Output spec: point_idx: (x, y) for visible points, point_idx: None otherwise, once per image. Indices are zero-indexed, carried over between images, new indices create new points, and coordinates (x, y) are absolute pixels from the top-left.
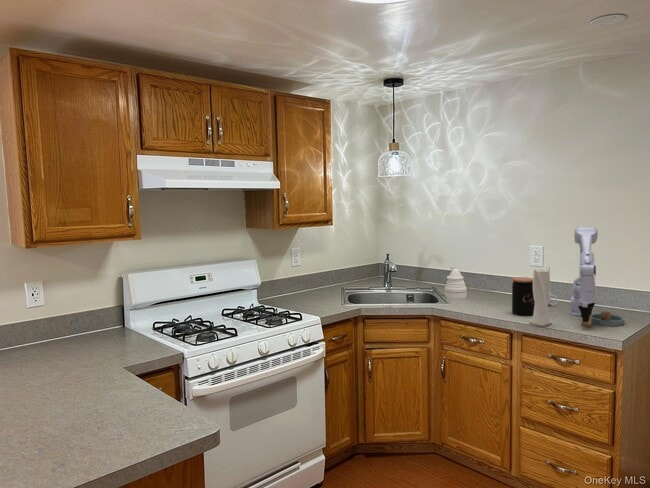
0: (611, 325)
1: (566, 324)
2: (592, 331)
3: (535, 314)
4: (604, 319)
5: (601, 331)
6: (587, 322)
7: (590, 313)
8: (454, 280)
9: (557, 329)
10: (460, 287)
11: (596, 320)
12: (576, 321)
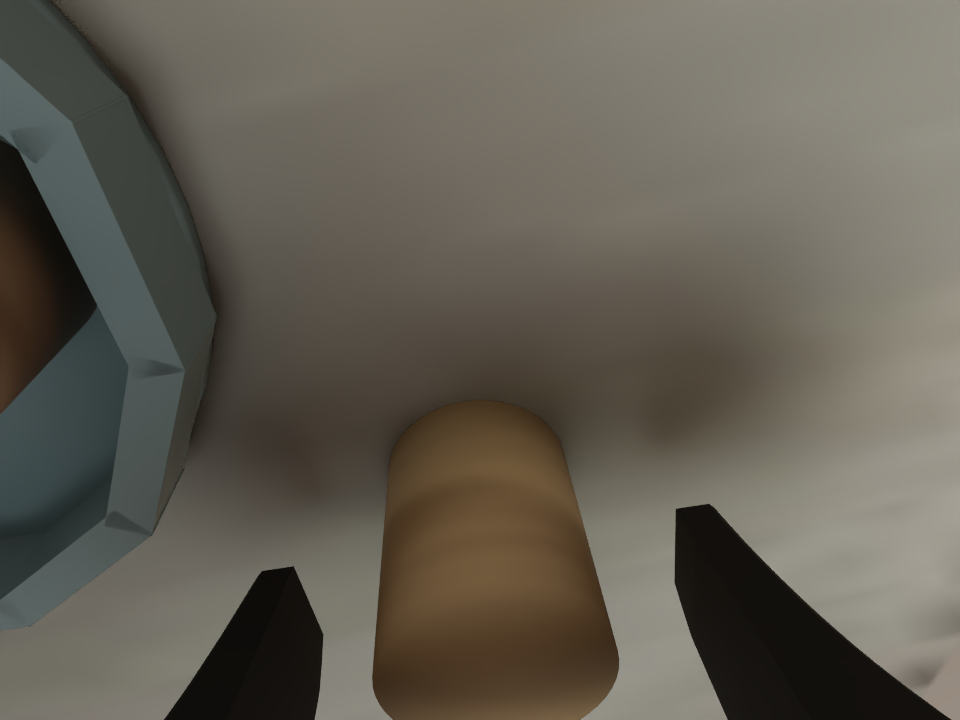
0: (74, 44)
1: None
2: (884, 274)
3: None
4: (40, 298)
5: (813, 115)
6: (575, 507)
7: (253, 681)
8: None
9: (924, 659)
10: None
11: (176, 436)
12: None
